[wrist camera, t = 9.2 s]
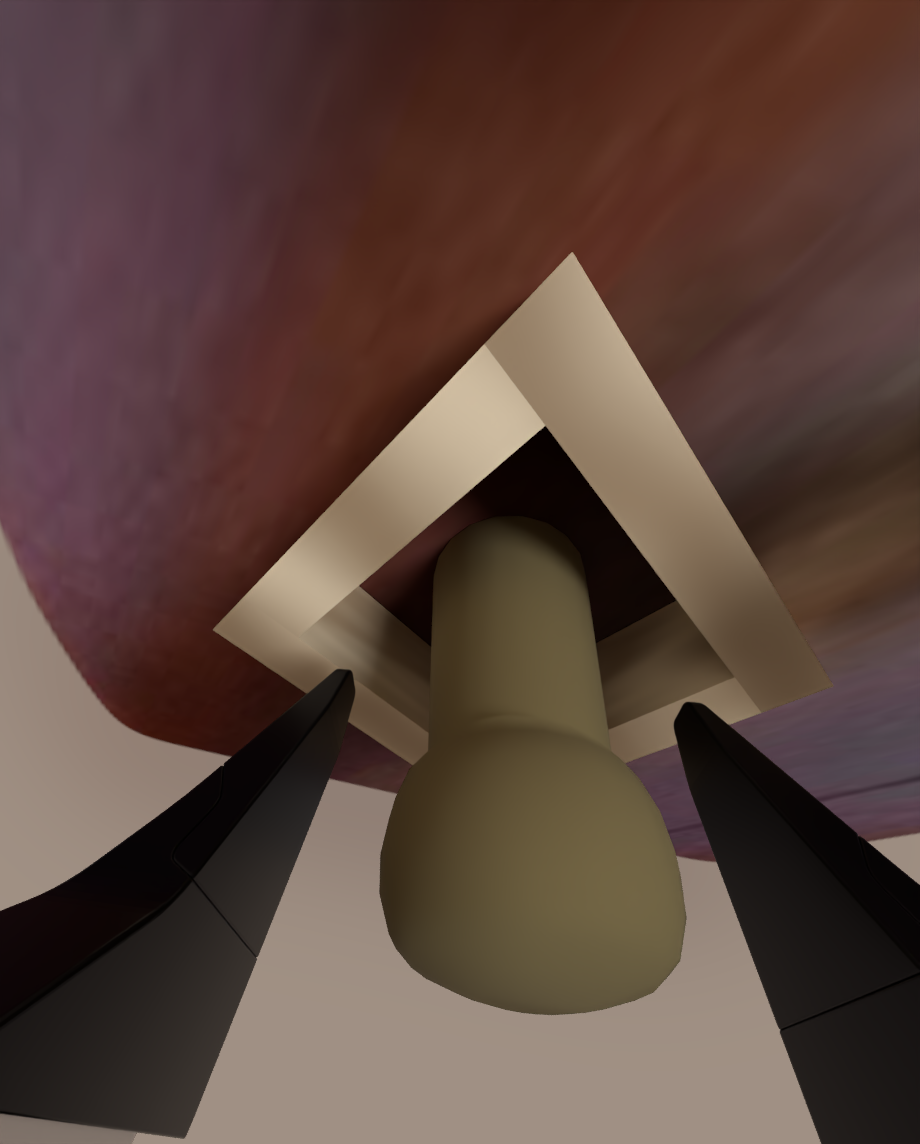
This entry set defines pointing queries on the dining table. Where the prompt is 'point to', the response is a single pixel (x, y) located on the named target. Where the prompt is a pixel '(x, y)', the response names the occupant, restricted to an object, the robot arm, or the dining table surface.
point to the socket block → (619, 477)
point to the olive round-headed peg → (526, 798)
